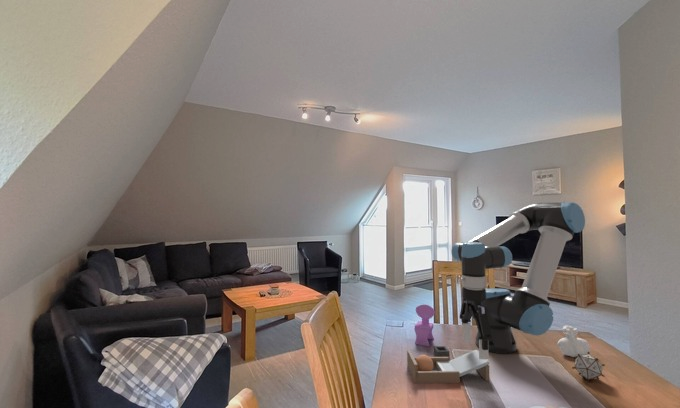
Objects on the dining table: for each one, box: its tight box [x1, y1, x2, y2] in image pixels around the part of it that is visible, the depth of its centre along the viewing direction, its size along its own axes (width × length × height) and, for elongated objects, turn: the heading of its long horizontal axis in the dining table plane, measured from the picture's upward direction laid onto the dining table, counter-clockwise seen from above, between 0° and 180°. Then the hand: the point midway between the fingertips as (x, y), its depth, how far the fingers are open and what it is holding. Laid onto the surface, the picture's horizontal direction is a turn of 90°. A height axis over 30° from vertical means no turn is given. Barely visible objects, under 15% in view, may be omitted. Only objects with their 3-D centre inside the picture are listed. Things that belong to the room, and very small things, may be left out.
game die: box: [571, 352, 606, 383], centre depth 105 cm, size 9×8×10 cm
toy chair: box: [414, 304, 436, 347], centre depth 136 cm, size 8×9×15 cm
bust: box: [556, 324, 591, 358], centre depth 124 cm, size 12×8×11 cm
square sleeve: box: [433, 345, 450, 358], centre depth 123 cm, size 5×5×2 cm
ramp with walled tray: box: [406, 349, 491, 384], centre depth 109 cm, size 25×11×6 cm, turn 90°
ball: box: [416, 354, 433, 371], centre depth 109 cm, size 6×6×6 cm
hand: (474, 349), depth 109 cm, fingers open, 13 cm apart
